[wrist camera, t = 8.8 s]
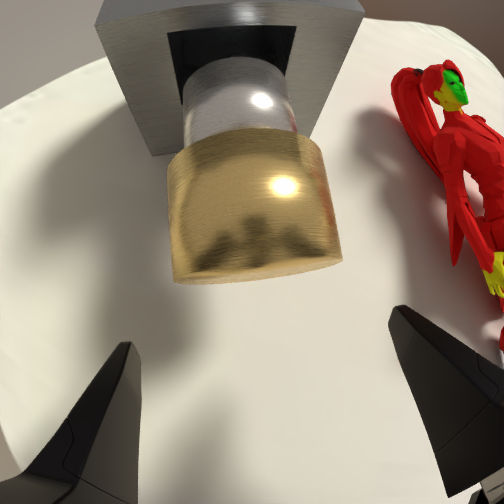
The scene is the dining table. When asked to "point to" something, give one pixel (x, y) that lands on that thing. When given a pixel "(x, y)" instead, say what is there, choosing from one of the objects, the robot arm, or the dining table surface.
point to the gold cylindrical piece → (246, 181)
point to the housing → (222, 52)
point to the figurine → (458, 162)
